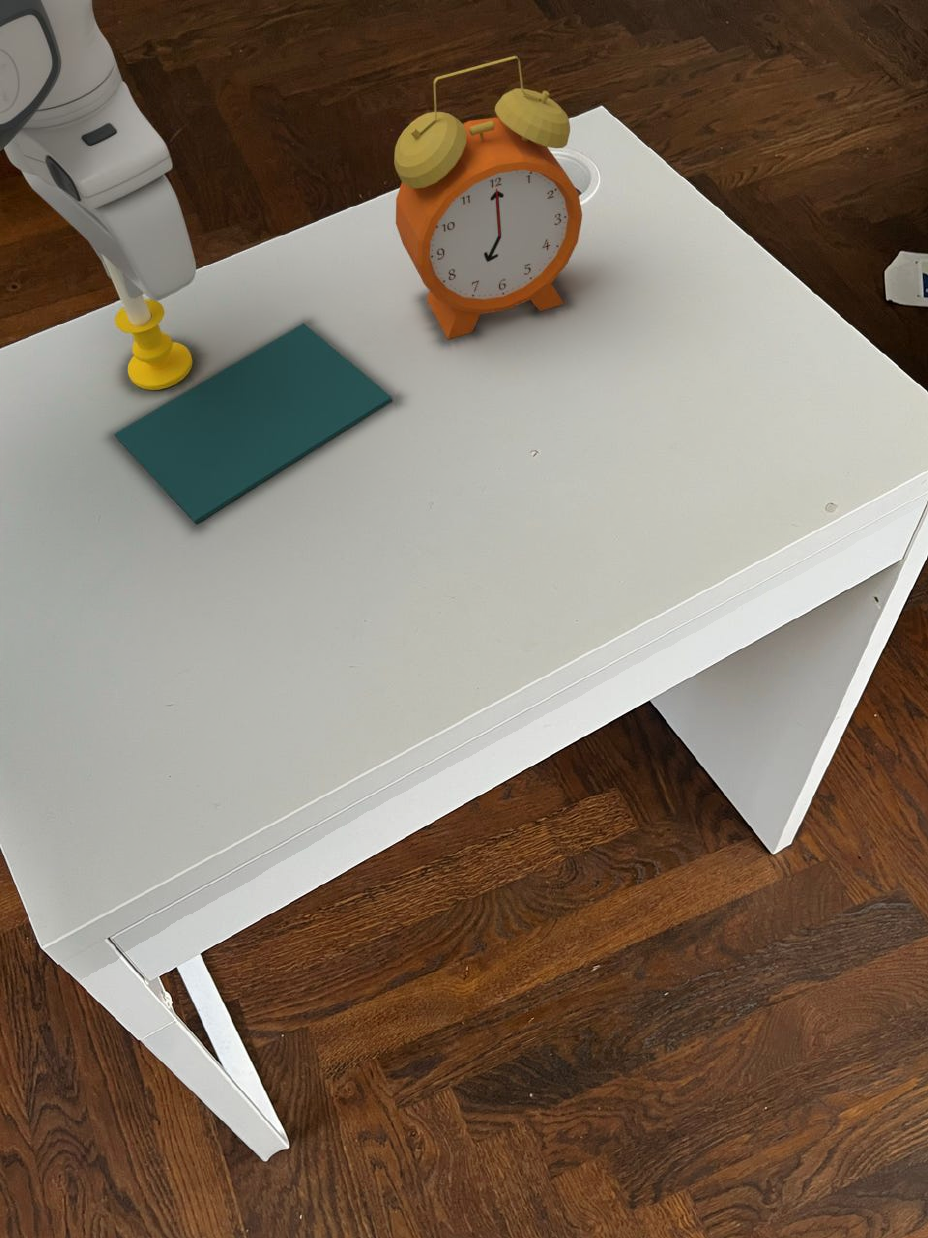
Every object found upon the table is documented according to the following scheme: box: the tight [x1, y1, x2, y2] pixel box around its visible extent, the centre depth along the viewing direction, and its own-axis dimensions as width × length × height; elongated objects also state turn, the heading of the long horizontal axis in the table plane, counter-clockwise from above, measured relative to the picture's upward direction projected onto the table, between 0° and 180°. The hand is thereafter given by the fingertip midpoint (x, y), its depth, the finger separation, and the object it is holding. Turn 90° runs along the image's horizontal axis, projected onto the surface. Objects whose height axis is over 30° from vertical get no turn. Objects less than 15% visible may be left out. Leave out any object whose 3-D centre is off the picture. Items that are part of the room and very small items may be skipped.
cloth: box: [114, 322, 393, 525], centre depth 89 cm, size 18×12×1 cm, turn 129°
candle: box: [101, 253, 193, 391], centre depth 87 cm, size 5×5×16 cm
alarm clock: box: [393, 55, 583, 340], centre depth 86 cm, size 13×6×20 cm, turn 110°
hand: (130, 284), depth 87 cm, fingers closed on candle
